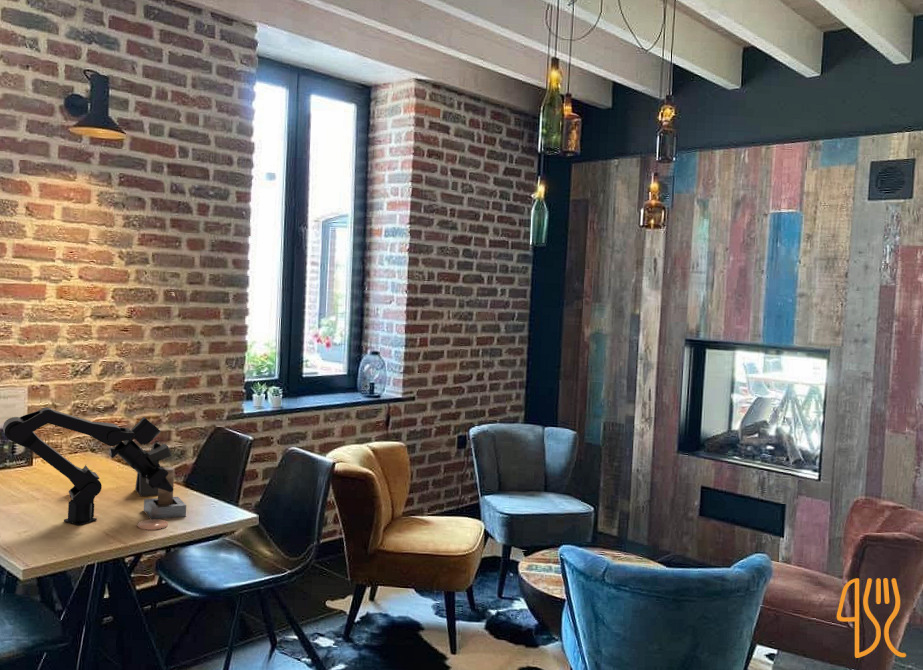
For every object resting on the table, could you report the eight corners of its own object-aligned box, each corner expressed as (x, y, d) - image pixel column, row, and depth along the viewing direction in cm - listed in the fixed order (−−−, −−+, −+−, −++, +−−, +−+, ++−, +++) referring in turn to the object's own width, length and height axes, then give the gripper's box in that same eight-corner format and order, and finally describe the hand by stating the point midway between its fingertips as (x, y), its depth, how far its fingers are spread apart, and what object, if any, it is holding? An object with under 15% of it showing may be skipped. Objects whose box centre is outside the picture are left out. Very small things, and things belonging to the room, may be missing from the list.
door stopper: (135, 489, 268) (136, 455, 267) (153, 488, 271) (155, 454, 270) (140, 496, 260) (142, 461, 260) (159, 495, 264) (161, 460, 263)
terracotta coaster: (152, 532, 227) (153, 529, 227) (130, 526, 230) (131, 524, 230) (174, 524, 235) (174, 522, 234) (152, 519, 238) (152, 517, 238)
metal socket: (151, 519, 238) (151, 508, 237) (143, 510, 246) (144, 499, 246) (185, 516, 243) (186, 505, 243) (177, 507, 252) (177, 496, 252)
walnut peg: (164, 516, 242) (167, 471, 241) (153, 513, 244) (156, 469, 243) (175, 512, 246) (177, 468, 245) (164, 510, 248) (166, 466, 247)
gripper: (162, 442, 233) (198, 476, 240) (148, 430, 249) (182, 463, 256) (133, 470, 229) (170, 504, 236) (120, 456, 245) (155, 488, 252)
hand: (170, 488), depth 245 cm, fingers closed on walnut peg, 4 cm apart
